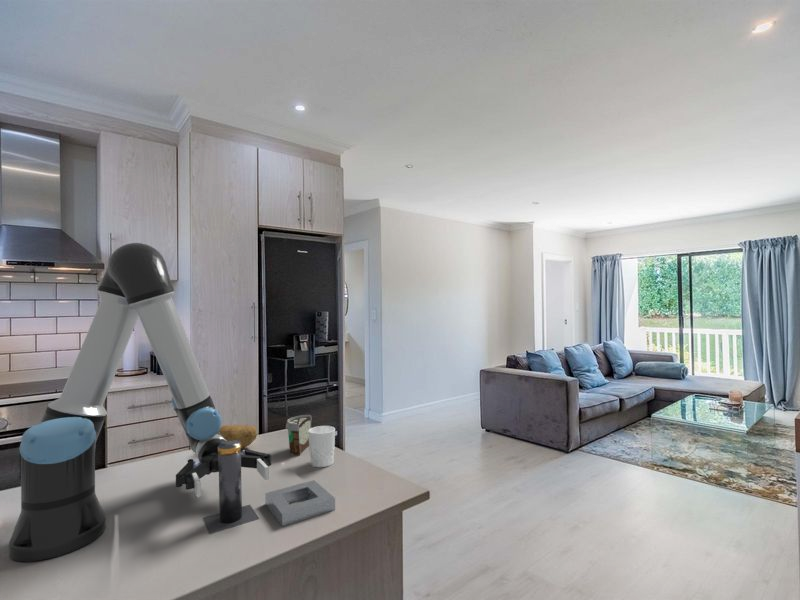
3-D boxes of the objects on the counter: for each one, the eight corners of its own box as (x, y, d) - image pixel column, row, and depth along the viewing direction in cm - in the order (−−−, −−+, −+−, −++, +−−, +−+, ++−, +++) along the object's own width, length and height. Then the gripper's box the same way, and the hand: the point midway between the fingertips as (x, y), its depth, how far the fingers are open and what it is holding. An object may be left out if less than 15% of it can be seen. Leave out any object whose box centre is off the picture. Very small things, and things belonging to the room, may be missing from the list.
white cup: (329, 469, 118) (329, 434, 118) (304, 467, 120) (303, 432, 120) (339, 459, 126) (338, 426, 126) (315, 457, 128) (314, 425, 128)
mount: (209, 538, 83) (209, 533, 83) (202, 522, 90) (202, 517, 90) (259, 523, 89) (259, 518, 89) (249, 508, 96) (249, 504, 96)
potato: (253, 453, 132) (253, 428, 133) (208, 455, 131) (208, 430, 131) (261, 443, 142) (261, 420, 142) (219, 445, 141) (219, 421, 141)
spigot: (221, 526, 86) (220, 448, 87) (217, 516, 90) (215, 443, 91) (244, 519, 89) (243, 444, 89) (239, 510, 93) (238, 438, 93)
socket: (282, 531, 86) (282, 514, 86) (265, 508, 96) (265, 493, 96) (335, 513, 93) (335, 498, 93) (314, 494, 102) (314, 480, 103)
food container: (294, 443, 142) (294, 414, 142) (312, 443, 141) (311, 414, 141) (279, 456, 129) (279, 424, 130) (298, 456, 129) (297, 424, 129)
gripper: (264, 456, 112) (292, 483, 94) (157, 480, 97) (167, 517, 80) (264, 429, 112) (291, 450, 94) (157, 448, 98) (166, 478, 80)
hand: (234, 481), depth 87 cm, fingers open, 13 cm apart
